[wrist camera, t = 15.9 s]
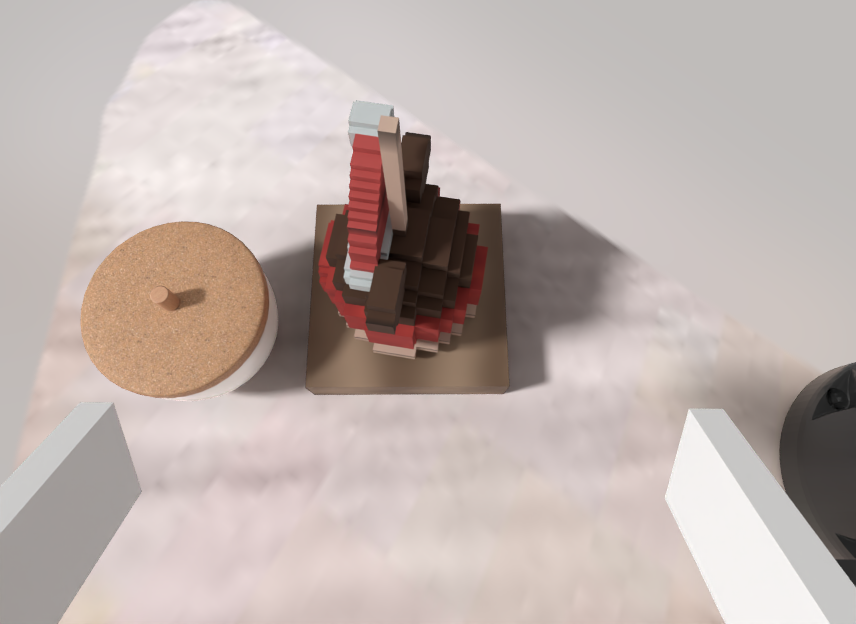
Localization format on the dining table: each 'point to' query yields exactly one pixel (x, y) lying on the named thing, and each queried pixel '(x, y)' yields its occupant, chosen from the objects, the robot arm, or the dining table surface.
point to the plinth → (430, 371)
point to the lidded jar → (179, 313)
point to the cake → (399, 244)
